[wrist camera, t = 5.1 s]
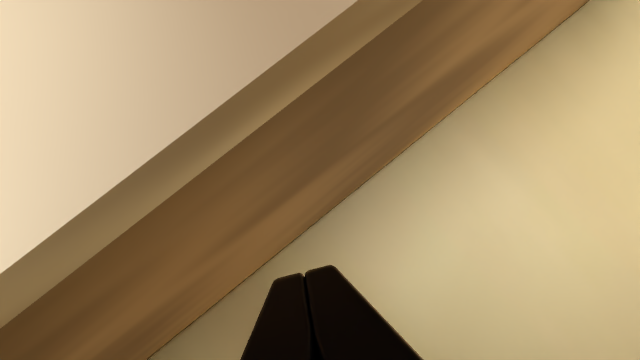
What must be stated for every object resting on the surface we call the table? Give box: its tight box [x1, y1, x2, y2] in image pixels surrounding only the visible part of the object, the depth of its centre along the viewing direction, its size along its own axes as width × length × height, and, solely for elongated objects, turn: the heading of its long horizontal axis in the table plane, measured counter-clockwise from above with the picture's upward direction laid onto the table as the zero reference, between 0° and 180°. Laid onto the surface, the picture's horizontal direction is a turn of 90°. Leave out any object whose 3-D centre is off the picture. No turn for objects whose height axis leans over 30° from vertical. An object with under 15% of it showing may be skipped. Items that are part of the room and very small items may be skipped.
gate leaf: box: [0, 0, 589, 360], centre depth 10 cm, size 19×2×10 cm, turn 129°
